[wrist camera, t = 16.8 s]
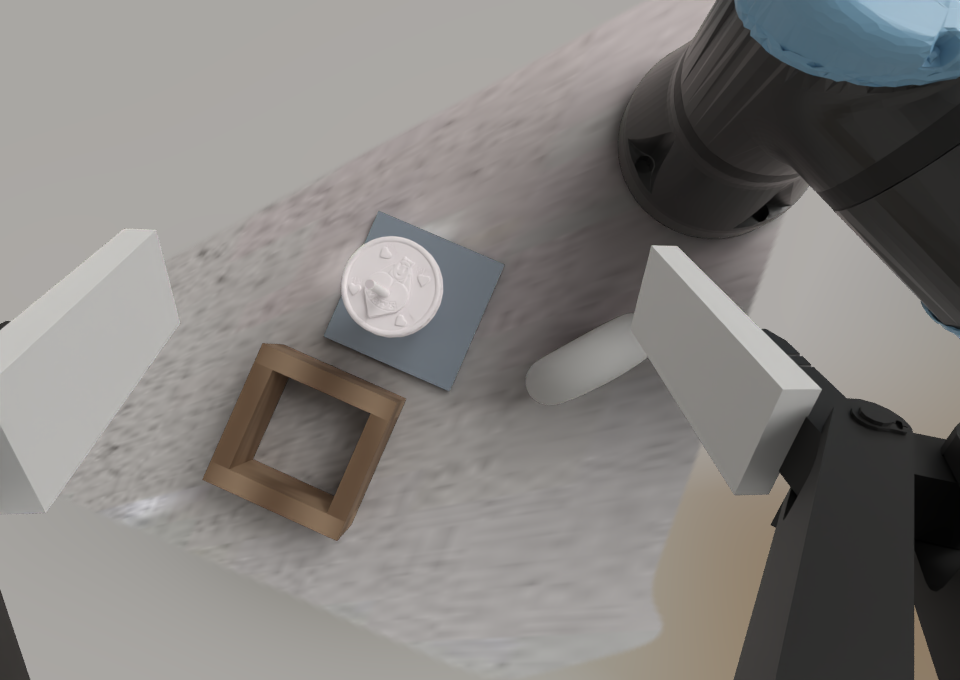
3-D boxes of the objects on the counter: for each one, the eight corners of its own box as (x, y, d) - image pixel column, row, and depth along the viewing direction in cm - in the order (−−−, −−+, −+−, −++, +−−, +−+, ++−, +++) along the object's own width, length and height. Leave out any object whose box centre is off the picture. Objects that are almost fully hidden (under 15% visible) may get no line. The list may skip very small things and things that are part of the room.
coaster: (504, 266, 44) (504, 264, 44) (450, 390, 44) (449, 391, 43) (380, 213, 45) (378, 210, 44) (326, 336, 45) (323, 336, 44)
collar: (406, 398, 44) (397, 402, 40) (351, 524, 44) (337, 541, 40) (283, 344, 45) (262, 343, 41) (228, 468, 45) (202, 479, 41)
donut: (623, 310, 44) (660, 296, 34) (644, 347, 44) (688, 345, 34) (514, 370, 44) (519, 373, 34) (535, 407, 44) (546, 422, 34)
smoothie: (358, 311, 44) (293, 290, 30) (404, 245, 44) (361, 194, 30) (423, 357, 44) (389, 358, 30) (469, 291, 44) (457, 260, 30)
